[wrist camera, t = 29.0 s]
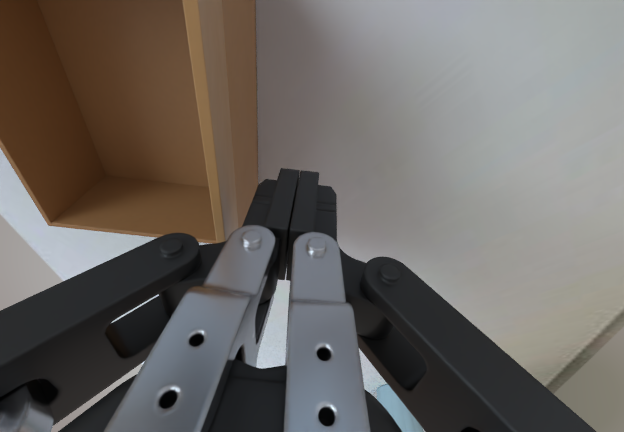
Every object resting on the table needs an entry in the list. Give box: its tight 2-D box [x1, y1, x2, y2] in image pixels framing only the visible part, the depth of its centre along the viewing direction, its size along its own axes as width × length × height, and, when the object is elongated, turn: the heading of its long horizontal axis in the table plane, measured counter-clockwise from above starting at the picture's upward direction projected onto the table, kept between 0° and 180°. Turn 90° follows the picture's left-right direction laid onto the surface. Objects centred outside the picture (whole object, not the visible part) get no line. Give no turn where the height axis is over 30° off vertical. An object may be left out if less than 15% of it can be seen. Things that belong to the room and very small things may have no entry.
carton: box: [0, 0, 258, 244], centre depth 17 cm, size 16×13×6 cm
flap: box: [182, 0, 239, 243], centre depth 12 cm, size 16×6×1 cm
